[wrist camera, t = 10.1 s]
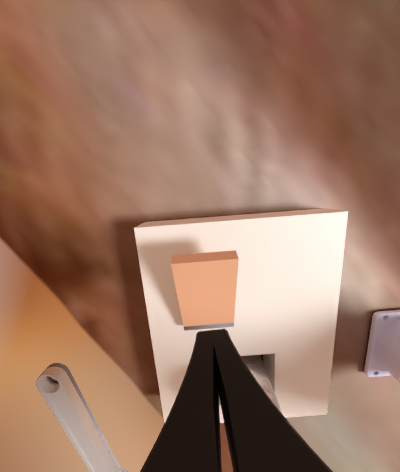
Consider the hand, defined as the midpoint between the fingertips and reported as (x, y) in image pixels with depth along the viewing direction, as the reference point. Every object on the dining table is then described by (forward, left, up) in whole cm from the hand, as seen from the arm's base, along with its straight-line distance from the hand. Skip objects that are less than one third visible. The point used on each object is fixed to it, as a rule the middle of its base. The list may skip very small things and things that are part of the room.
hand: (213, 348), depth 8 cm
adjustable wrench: (+14, +22, -10) cm, 28 cm away
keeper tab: (0, 0, -5) cm, 5 cm away
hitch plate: (-3, +5, -10) cm, 11 cm away
